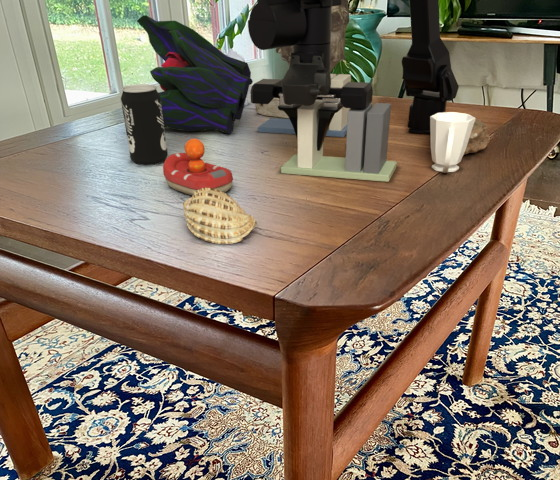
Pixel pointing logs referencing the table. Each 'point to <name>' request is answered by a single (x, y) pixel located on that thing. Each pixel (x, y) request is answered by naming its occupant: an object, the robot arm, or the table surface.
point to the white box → (308, 135)
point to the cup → (449, 139)
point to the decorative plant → (196, 79)
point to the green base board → (357, 149)
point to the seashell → (217, 217)
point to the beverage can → (144, 124)
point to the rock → (477, 138)
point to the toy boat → (195, 171)
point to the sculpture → (337, 54)
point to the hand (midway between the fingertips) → (310, 149)
